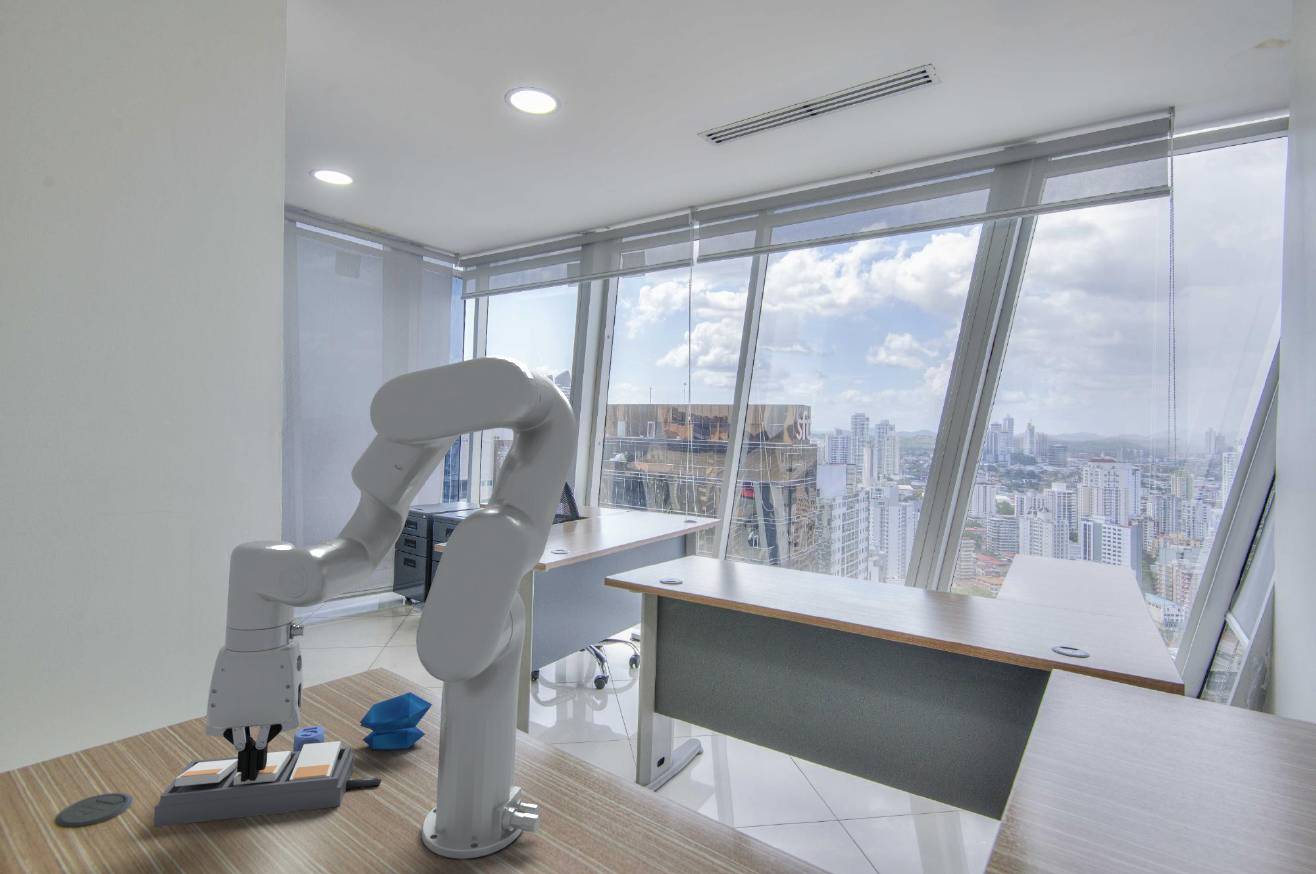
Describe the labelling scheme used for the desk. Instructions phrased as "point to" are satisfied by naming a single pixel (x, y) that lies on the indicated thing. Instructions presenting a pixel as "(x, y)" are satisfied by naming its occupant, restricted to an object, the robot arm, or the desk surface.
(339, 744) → the rocker
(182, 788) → the strip
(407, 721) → the crystal
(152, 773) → the desk surface
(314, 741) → the decorative dice
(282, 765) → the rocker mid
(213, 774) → the rocker
